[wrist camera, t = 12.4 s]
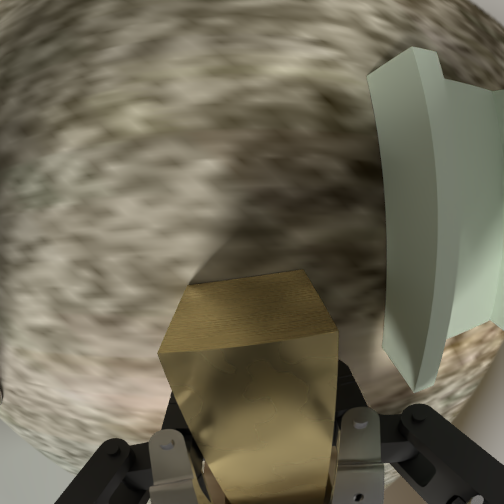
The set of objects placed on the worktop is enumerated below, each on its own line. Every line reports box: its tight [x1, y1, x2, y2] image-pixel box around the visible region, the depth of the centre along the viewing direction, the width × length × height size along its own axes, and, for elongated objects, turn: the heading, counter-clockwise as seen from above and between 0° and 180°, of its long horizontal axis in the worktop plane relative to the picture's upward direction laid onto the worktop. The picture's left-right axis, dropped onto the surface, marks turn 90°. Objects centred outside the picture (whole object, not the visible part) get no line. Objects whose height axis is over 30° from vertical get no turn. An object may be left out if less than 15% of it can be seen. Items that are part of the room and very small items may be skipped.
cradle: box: [367, 47, 504, 393], centre depth 9 cm, size 8×12×4 cm, turn 9°
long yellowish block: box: [157, 269, 339, 504], centre depth 11 cm, size 4×18×4 cm, turn 8°
